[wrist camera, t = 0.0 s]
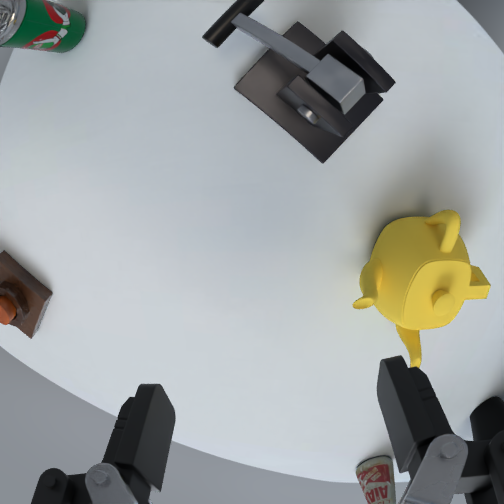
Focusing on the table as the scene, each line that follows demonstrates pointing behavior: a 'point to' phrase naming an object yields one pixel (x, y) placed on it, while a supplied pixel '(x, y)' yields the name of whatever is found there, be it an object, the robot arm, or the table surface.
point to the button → (6, 310)
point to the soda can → (40, 25)
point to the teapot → (420, 276)
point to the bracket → (313, 91)
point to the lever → (292, 55)
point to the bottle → (377, 480)
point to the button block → (23, 295)
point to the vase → (488, 419)
